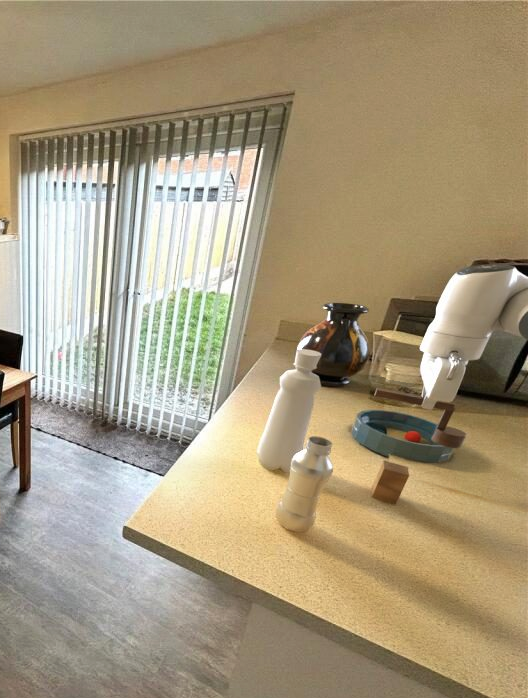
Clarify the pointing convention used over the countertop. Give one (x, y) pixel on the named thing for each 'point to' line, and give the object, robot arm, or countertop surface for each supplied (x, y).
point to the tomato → (413, 436)
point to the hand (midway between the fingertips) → (425, 405)
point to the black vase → (338, 344)
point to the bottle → (290, 413)
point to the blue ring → (374, 436)
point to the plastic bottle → (305, 485)
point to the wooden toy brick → (390, 482)
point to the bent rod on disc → (442, 432)
